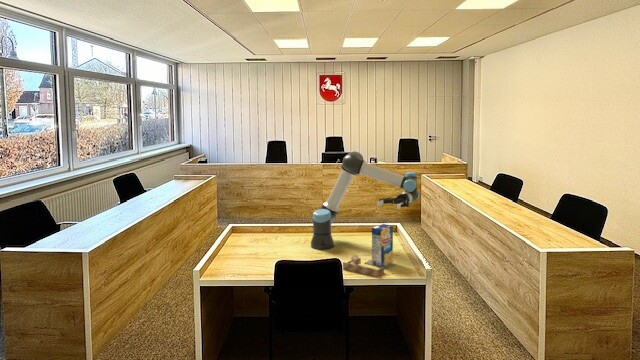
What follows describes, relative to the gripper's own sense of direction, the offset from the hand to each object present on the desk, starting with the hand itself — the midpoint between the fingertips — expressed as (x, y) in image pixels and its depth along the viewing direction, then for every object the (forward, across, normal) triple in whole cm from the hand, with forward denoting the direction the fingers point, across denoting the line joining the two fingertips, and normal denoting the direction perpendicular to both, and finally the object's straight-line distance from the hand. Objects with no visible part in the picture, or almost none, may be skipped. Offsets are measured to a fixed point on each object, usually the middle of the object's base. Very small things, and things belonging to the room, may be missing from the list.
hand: (387, 205), depth 317 cm
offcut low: (+26, +7, -32) cm, 42 cm away
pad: (+15, -3, -32) cm, 35 cm away
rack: (+29, -1, -32) cm, 43 cm away
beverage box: (+13, -4, -32) cm, 35 cm away
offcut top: (+25, +6, -29) cm, 39 cm away
